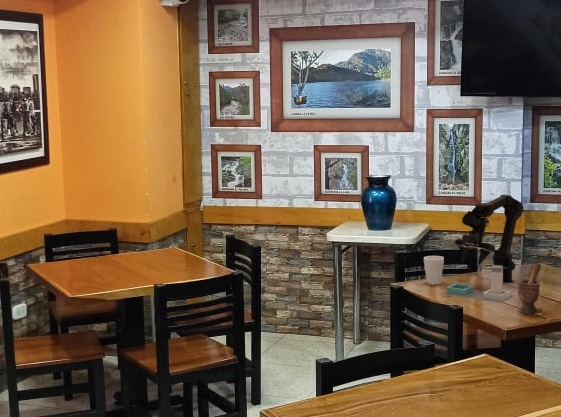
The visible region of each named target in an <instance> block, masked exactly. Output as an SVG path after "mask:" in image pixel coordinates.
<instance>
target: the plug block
mask: <svg viewBox="0 0 561 417" xmlns="http://www.w3.org/2000/svg"><path fill="white" fill-rule="evenodd" d="M490 272H491V273H490V276H491V277H490V281H491V282H490V289H491V293H492V294H499V295H502V294H503V290H504V288H503V285H504V283H503V266H496V265H494V264H492V266H491V270H490Z"/></svg>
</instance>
